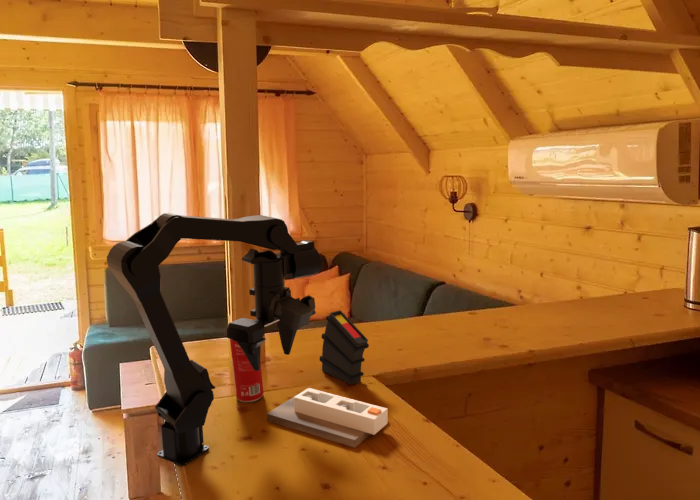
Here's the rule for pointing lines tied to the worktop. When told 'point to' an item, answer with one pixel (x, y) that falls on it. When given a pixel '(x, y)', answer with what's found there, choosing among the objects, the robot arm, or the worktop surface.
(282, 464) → the worktop surface
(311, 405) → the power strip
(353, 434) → the peg board
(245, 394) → the beverage can
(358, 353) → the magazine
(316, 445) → the worktop surface
